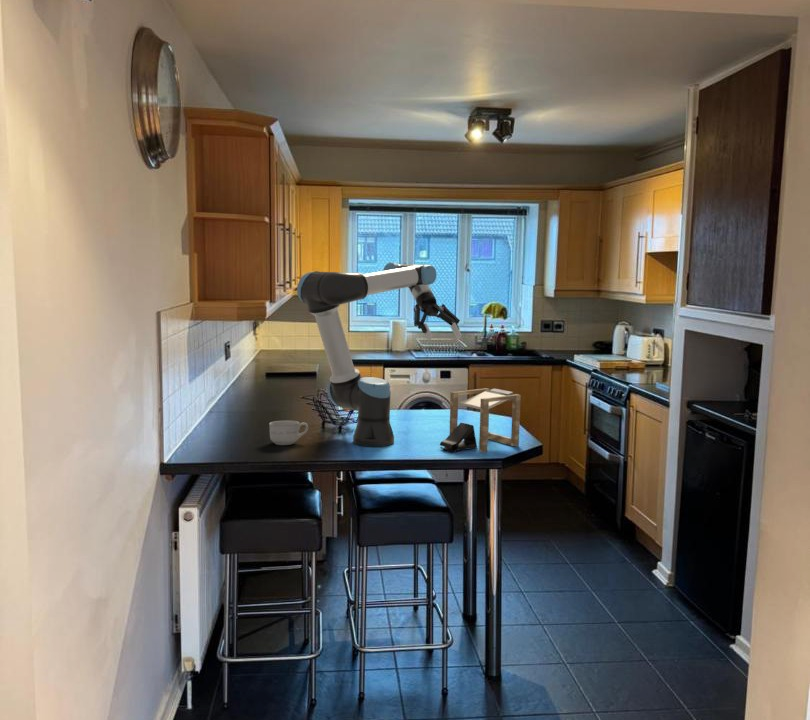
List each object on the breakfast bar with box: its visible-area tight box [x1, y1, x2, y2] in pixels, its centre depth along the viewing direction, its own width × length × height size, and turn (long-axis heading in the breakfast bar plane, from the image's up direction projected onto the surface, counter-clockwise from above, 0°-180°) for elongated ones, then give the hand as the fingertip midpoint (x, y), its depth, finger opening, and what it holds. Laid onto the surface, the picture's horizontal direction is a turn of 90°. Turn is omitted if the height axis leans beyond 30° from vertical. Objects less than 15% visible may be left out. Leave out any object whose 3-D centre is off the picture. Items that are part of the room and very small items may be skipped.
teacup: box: [268, 420, 309, 446], centre depth 260 cm, size 14×11×8 cm
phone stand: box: [439, 422, 478, 453], centre depth 257 cm, size 9×6×12 cm
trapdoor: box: [460, 388, 514, 410], centre depth 264 cm, size 13×16×3 cm
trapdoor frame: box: [448, 387, 522, 454], centre depth 264 cm, size 18×18×19 cm
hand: (445, 338), depth 275 cm, fingers open, 13 cm apart
